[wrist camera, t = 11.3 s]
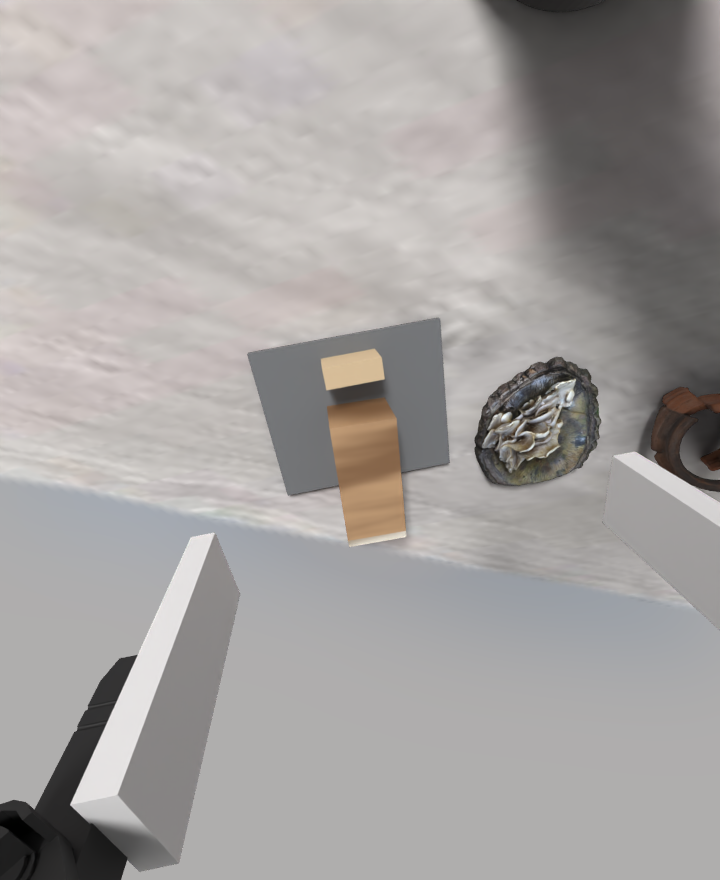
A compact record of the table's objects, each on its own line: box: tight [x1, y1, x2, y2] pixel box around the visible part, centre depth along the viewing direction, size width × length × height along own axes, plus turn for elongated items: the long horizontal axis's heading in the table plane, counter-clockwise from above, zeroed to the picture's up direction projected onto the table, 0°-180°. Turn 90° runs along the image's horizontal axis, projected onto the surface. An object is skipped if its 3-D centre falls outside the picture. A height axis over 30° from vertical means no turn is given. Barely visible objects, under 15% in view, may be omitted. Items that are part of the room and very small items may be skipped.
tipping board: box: [247, 318, 450, 495], centre depth 29 cm, size 12×14×4 cm
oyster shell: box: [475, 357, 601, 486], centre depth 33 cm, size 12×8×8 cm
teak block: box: [327, 397, 406, 547], centre depth 29 cm, size 4×4×10 cm
